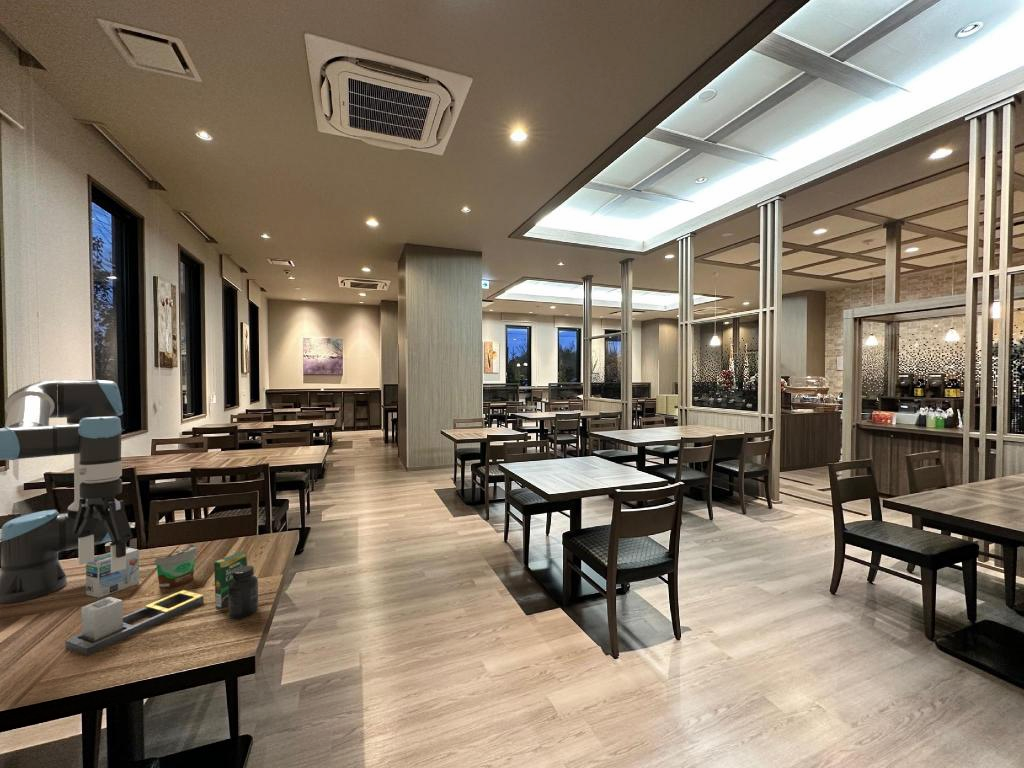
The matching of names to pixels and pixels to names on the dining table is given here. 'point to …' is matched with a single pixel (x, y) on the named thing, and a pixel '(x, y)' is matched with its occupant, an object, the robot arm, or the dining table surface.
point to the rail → (129, 630)
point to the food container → (176, 568)
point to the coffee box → (226, 576)
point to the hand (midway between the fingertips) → (102, 566)
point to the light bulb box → (111, 574)
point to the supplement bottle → (243, 593)
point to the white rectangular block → (101, 619)
